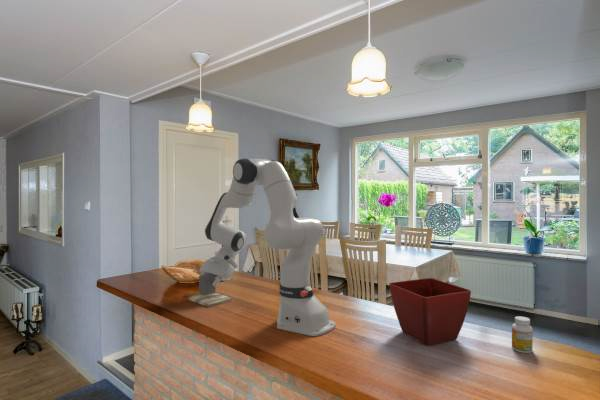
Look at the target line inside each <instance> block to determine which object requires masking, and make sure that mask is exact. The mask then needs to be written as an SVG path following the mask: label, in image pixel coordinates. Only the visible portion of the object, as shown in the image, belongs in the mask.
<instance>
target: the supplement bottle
mask: <svg viewBox="0 0 600 400" xmlns="http://www.w3.org/2000/svg"><path fill="white" fill-rule="evenodd" d="M533 338H534V337H533V327H532V326H531V319H530V318H529V317H526V316H520V315H519V316H515V317H514V322H513V323H512V325H511V349H512V350H514V351H515V352H517V353H518V352H519V353H520V354H521V353H523V354H531V353H532V352H533Z"/></svg>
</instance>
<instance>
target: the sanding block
mask: <svg viewBox="0 0 600 400" xmlns="http://www.w3.org/2000/svg"><path fill="white" fill-rule="evenodd" d="M214 280H216V277H215V275H214V274H210V273H209V274H205V275H201V274H200V275H198V295H200V296H203V297H205V296H209V295H213V294H215V293H216V286H212V285H211V283H212V281H214Z"/></svg>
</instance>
